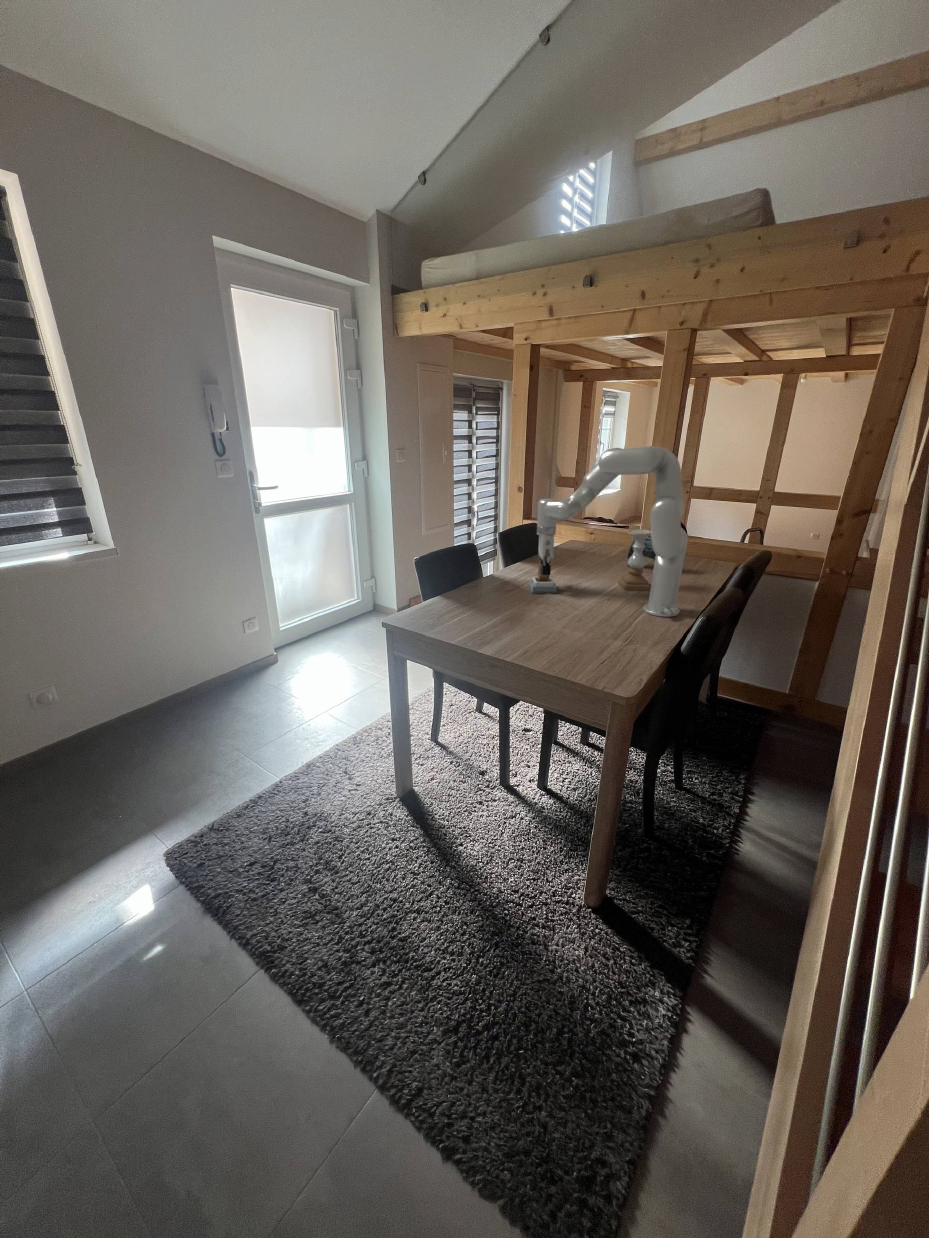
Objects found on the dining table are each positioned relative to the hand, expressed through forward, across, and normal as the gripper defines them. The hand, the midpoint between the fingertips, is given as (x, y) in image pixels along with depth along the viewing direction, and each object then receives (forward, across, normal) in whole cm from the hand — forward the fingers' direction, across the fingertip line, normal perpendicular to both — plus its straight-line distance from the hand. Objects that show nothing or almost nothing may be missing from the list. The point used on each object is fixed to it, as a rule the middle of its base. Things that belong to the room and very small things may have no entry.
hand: (544, 571), depth 204 cm
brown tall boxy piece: (+7, 0, 0) cm, 7 cm away
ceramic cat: (+9, +29, -55) cm, 63 cm away
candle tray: (+8, 0, 0) cm, 8 cm away
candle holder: (+9, +4, -40) cm, 41 cm away
